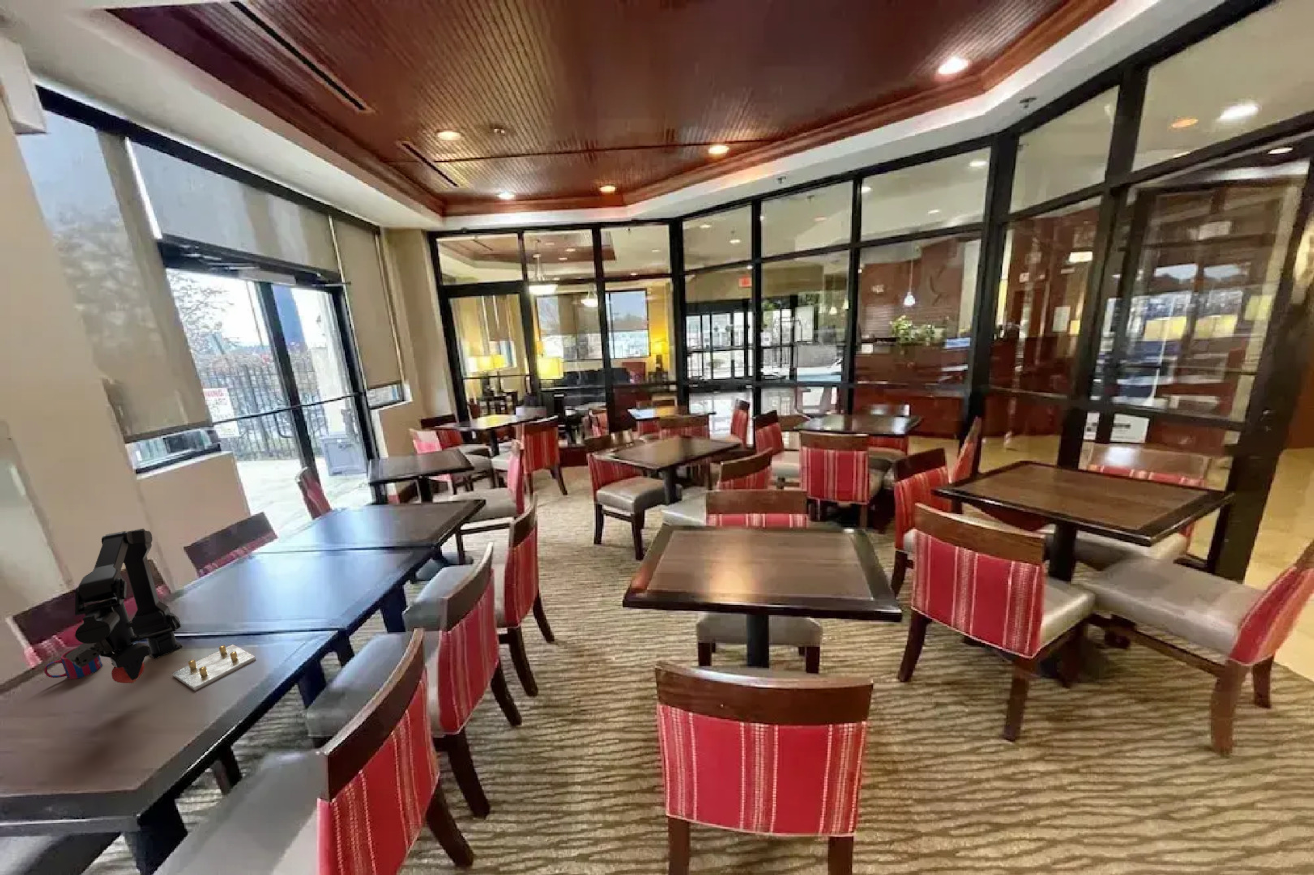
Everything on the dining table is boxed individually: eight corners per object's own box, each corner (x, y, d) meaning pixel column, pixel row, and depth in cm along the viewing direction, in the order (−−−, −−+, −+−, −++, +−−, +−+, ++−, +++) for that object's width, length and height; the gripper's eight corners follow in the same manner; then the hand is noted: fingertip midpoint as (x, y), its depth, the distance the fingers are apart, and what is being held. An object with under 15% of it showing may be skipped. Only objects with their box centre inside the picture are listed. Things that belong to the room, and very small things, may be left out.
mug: (102, 670, 140) (95, 649, 139) (48, 689, 133) (40, 668, 132) (103, 660, 145) (96, 640, 143) (51, 678, 138) (43, 658, 136)
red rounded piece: (111, 693, 123) (101, 666, 121) (122, 679, 128) (113, 653, 126) (142, 685, 125) (133, 658, 123) (152, 672, 130) (143, 646, 128)
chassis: (173, 676, 136) (169, 665, 135) (233, 647, 148) (230, 637, 147) (194, 690, 129) (191, 679, 129) (255, 659, 141) (253, 648, 141)
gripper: (52, 631, 120) (72, 685, 123) (77, 651, 111) (97, 708, 115) (116, 608, 129) (133, 658, 133) (143, 624, 121) (160, 678, 124)
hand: (130, 675), depth 126 cm, fingers closed on red rounded piece, 6 cm apart
